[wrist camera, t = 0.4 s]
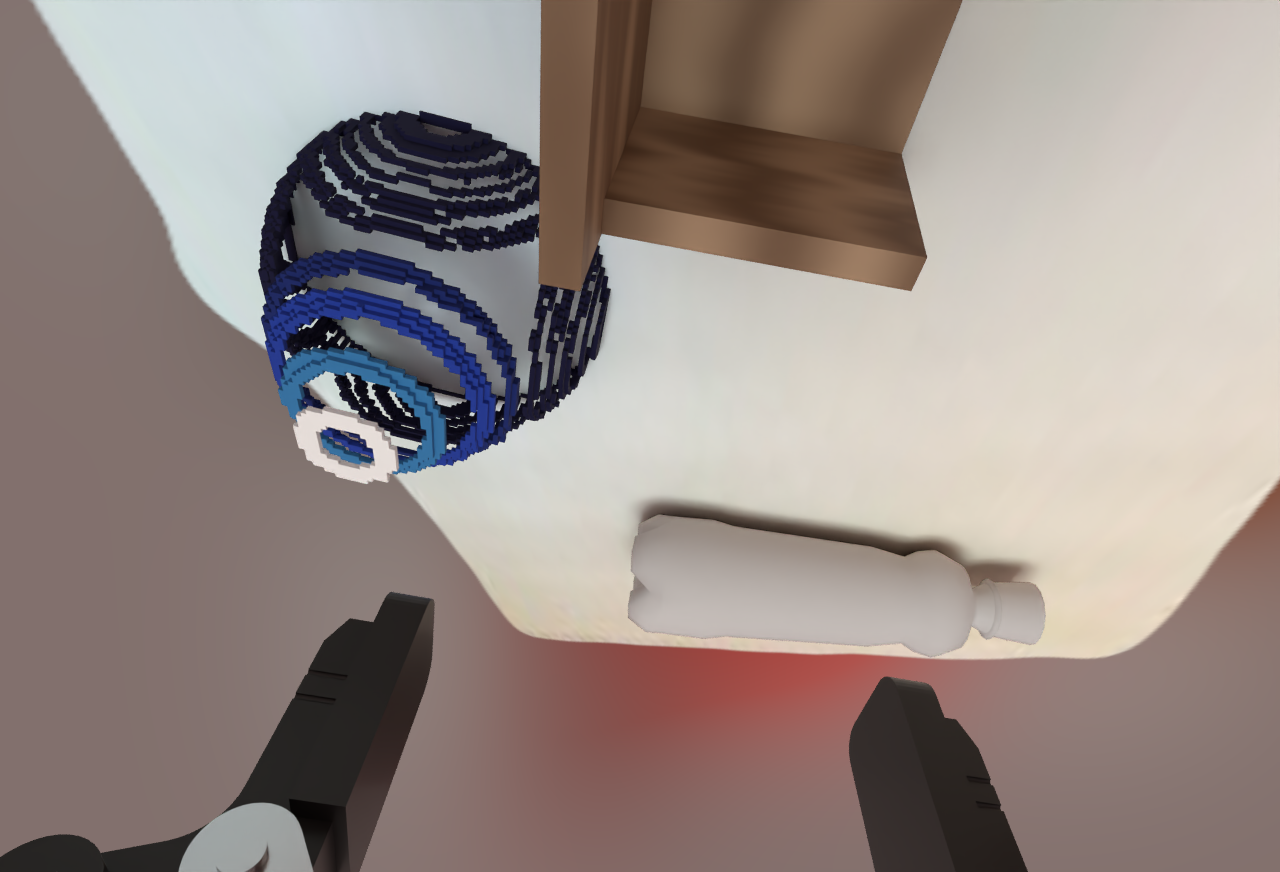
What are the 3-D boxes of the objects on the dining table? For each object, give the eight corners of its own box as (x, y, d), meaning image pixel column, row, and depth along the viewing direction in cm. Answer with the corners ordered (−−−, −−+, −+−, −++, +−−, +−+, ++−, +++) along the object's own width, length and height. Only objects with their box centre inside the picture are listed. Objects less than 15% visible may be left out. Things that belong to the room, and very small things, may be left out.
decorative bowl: (250, 65, 35) (36, 201, 25) (634, 164, 36) (573, 335, 26) (312, 359, 50) (192, 518, 40) (584, 425, 50) (533, 599, 40)
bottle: (634, 598, 60) (994, 638, 57) (622, 652, 51) (1046, 702, 49) (642, 497, 58) (1015, 535, 55) (630, 535, 49) (1073, 582, 47)
